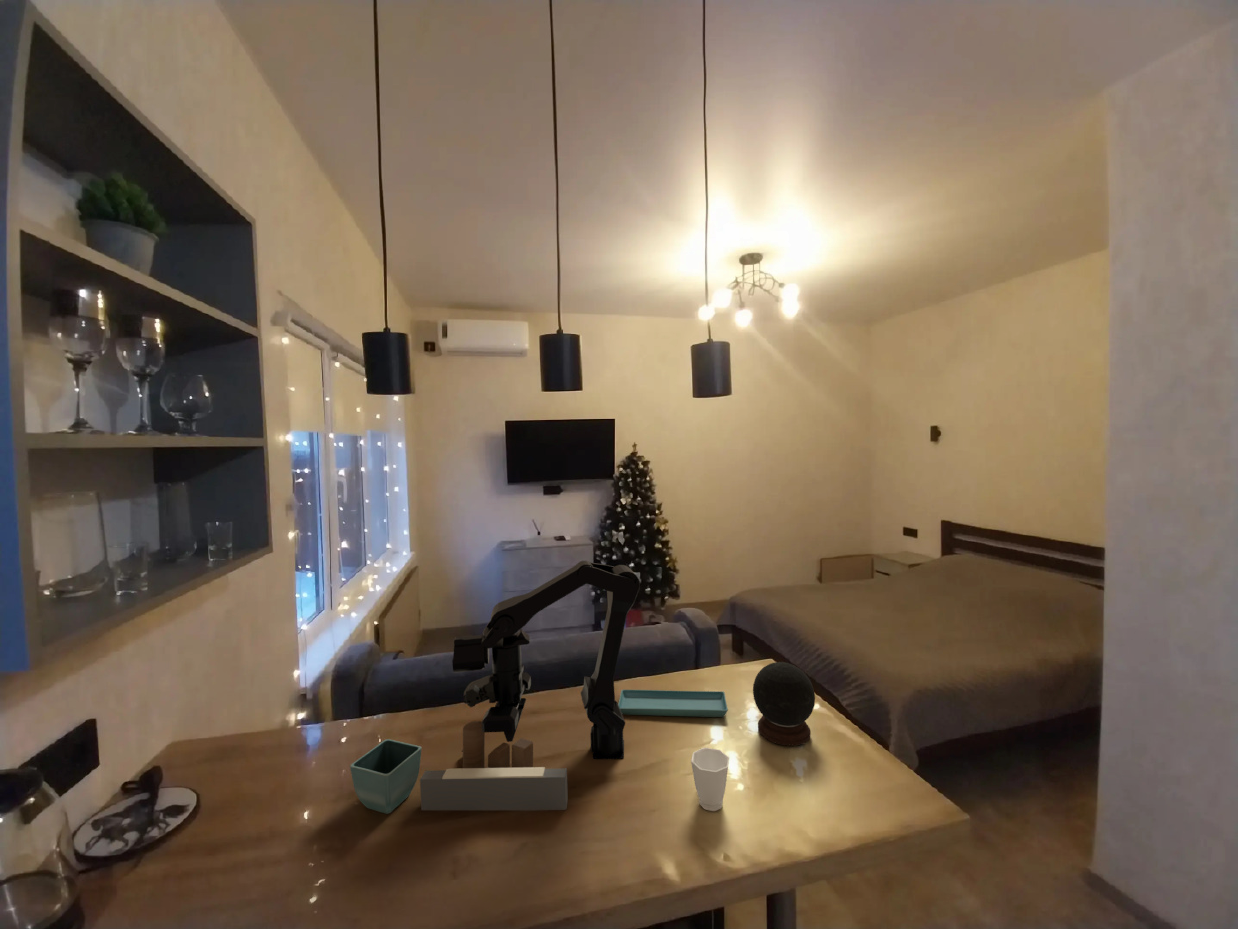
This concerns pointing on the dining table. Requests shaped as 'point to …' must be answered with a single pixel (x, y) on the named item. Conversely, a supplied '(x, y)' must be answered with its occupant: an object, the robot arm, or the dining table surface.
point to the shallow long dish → (673, 703)
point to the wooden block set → (499, 755)
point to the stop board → (494, 789)
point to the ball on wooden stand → (784, 703)
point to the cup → (710, 776)
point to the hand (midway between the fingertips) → (510, 740)
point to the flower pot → (386, 774)
